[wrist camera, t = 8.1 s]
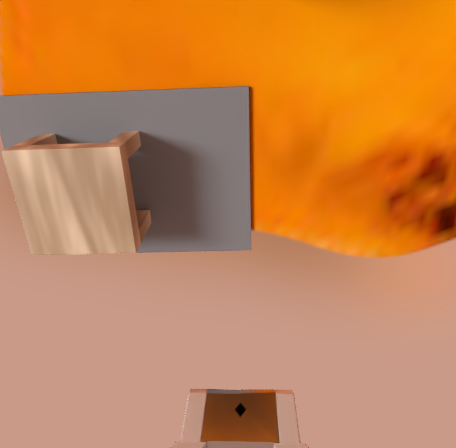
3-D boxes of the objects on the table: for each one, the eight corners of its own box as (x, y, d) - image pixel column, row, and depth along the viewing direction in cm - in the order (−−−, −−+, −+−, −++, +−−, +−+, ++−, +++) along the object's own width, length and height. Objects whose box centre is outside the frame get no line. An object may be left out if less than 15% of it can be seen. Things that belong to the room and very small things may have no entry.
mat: (248, 86, 28) (248, 86, 28) (251, 248, 34) (251, 250, 34) (-9, 96, 29) (-11, 96, 29) (36, 253, 35) (35, 254, 35)
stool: (119, 146, 25) (0, 150, 25) (136, 252, 28) (31, 255, 28) (139, 130, 30) (40, 134, 30) (151, 222, 33) (62, 224, 33)
